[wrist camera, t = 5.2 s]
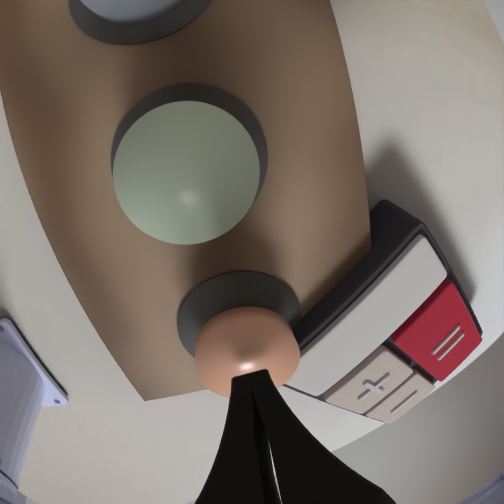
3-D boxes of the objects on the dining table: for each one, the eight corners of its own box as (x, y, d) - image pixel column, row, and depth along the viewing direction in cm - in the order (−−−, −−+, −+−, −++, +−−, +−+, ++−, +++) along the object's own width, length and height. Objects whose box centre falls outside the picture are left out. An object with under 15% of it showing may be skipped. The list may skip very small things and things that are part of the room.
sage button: (146, 245, 11) (141, 260, 10) (106, 127, 9) (94, 130, 8) (265, 211, 11) (273, 222, 10) (235, 87, 9) (240, 84, 8)
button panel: (146, 377, 18) (144, 403, 16) (9, -2, 7) (-12, -12, 6) (358, 318, 19) (373, 340, 17) (278, -85, 8) (290, -106, 6)
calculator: (389, 430, 21) (263, 388, 14) (369, 394, 25) (246, 332, 18) (489, 339, 19) (432, 225, 12) (459, 309, 22) (382, 194, 16)
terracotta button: (212, 387, 14) (214, 406, 13) (179, 322, 12) (179, 341, 11) (298, 364, 15) (305, 382, 14) (284, 293, 13) (292, 310, 12)
